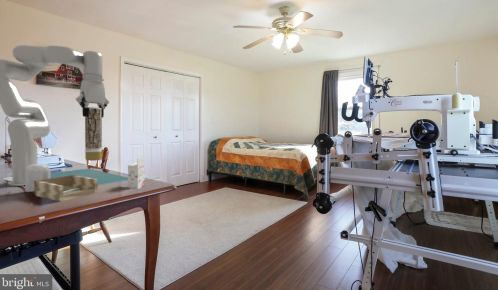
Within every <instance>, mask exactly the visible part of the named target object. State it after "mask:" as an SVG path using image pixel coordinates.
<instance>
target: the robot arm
mask: <svg viewBox="0 0 498 290" xmlns="http://www.w3.org/2000/svg"><path fill="white" fill-rule="evenodd" d="M12 56H13V58H14V59H15V60H16V61H18V62H15V61H11V60H8V59H4V58H3V59H2V58H0V106H1V107H0V108H1V109H2V111H3V113H4V114H5V115H6V116H7V117H9V118H14V119H13V120H11V121H10V122H9V123H8V125H7V133H8V136H9V140H10V149H11V150H10V151H11V152H10V153H11V178H12V179H11V180H10V181H8V182H7V185H8V186H11V187H21V186H24V185H25V168H26V167H27V166H29V165H34V164H38V147H37V144H36V142H35V140H34V139H41V138H45V137H46V136H48V135H49V134H50V131H51V129H50V124H49V121H48V119H47V117H46V115H45V112H44V111H43V108H42V106H41V105H40V104H39V103H38V102H37V101H35V100H31V99H25V98H23V96H22V95H21V94H20V91H19V89H18V87H17V86H16V85H15V84H14V83H13V82H12V81H13V80H15V81H20V82H29V81H31V80H32V79H34V78H35V77H36V76H37V75H38V74H40V73H41V72H42V71H43V70H44V69H46V67H52V66H54V65H55V64H63V65H66V66H70V67H74V68H77V69H81V70H83V79H82V80H81V83H80V87H79V95H78V96H77V97H75V101H76V102H77V103H78V105H79V106H80V108H81V110H82V113H81V114H82V116H83V117H84V118H85V117H88V116H89V108H87V107H89V105H90V104H96V105H97V108H101V109H102V118H104V116H105V114H104V110H105V109H106V108H107V107H108V104H109V103H110V101H109V100H108V99H107V97H106V88H105V85H104V81H105V78H103V55H102V54H101V53H100V52H98V51H92V50H86V51H84V52H82V51H79V50H77V49H74V48H71V47H68V46H62V45H61V46H60V45H48V46H38V45H27V44H26V45H25V44H24V45H23V44H22V45H20V44H19V45H16V46H15V47H14V48H13V49H12ZM11 80H12V81H11ZM24 187H25V186H24Z"/></svg>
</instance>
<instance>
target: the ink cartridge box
mask: <svg viewBox="0 0 498 290" xmlns="http://www.w3.org/2000/svg"><path fill="white" fill-rule="evenodd" d="M145 167H146V163H145V157H140V158H138V159H136V162H134V163H131V164H128V165H127V179H128V180H127V181H128V182H127V183H128V185H127V187H128V189H133V190H139V189H141V188H143V187H144V186H145V177H146V176H145V173H146V172H145Z"/></svg>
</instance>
